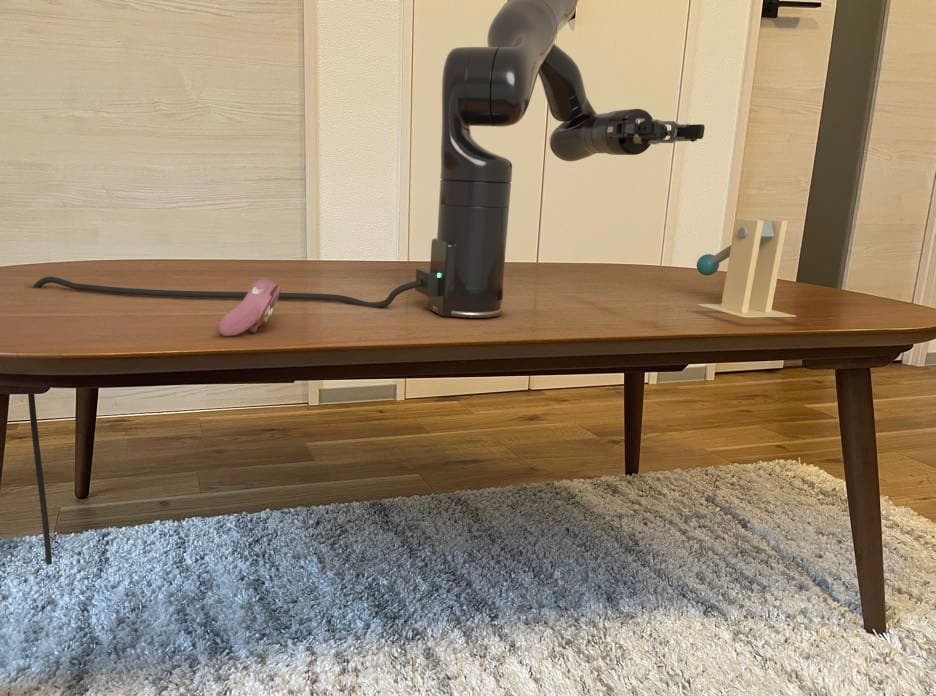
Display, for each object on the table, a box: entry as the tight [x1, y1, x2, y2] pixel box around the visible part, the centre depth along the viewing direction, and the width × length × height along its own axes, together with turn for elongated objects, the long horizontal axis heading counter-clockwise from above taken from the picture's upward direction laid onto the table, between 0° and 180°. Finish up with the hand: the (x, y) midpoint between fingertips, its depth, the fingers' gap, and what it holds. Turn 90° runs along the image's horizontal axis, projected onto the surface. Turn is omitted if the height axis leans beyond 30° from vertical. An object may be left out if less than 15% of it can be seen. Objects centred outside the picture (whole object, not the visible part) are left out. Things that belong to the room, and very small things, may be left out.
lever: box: [696, 220, 774, 277], centre depth 113 cm, size 14×3×3 cm
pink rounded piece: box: [217, 278, 282, 337], centre depth 89 cm, size 10×5×7 cm, turn 179°
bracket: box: [696, 217, 796, 318], centre depth 109 cm, size 10×9×14 cm
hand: (679, 130), depth 123 cm, fingers open, 8 cm apart
